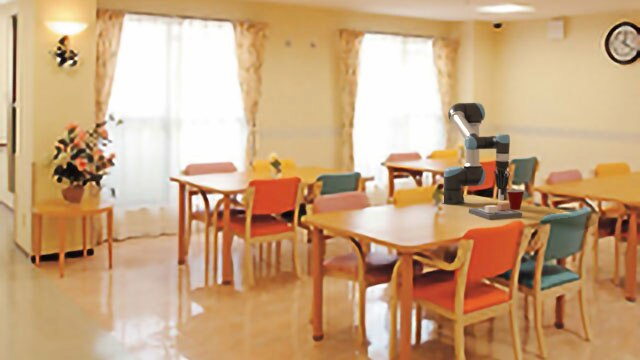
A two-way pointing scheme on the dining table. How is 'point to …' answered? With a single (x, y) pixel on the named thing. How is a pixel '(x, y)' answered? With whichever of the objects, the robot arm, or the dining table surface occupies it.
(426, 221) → the dining table surface
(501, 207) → the fader
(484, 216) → the slider panel
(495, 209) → the fader
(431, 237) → the dining table surface
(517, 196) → the plastic cup
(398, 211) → the dining table surface
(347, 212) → the dining table surface
